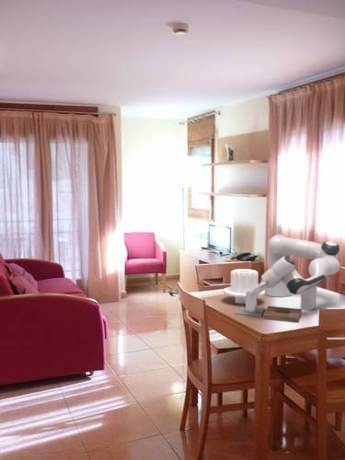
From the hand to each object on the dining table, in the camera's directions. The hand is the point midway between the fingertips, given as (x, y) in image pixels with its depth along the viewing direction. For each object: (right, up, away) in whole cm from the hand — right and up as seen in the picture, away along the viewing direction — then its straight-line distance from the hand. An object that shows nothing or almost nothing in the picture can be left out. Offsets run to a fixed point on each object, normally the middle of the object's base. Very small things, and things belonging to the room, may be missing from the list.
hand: (251, 296), depth 242 cm
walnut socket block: (+16, -10, -6) cm, 19 cm away
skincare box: (+35, -9, +10) cm, 37 cm away
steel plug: (0, -8, +1) cm, 9 cm away
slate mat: (-1, -9, +2) cm, 9 cm away
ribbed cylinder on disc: (0, -7, +25) cm, 26 cm away
